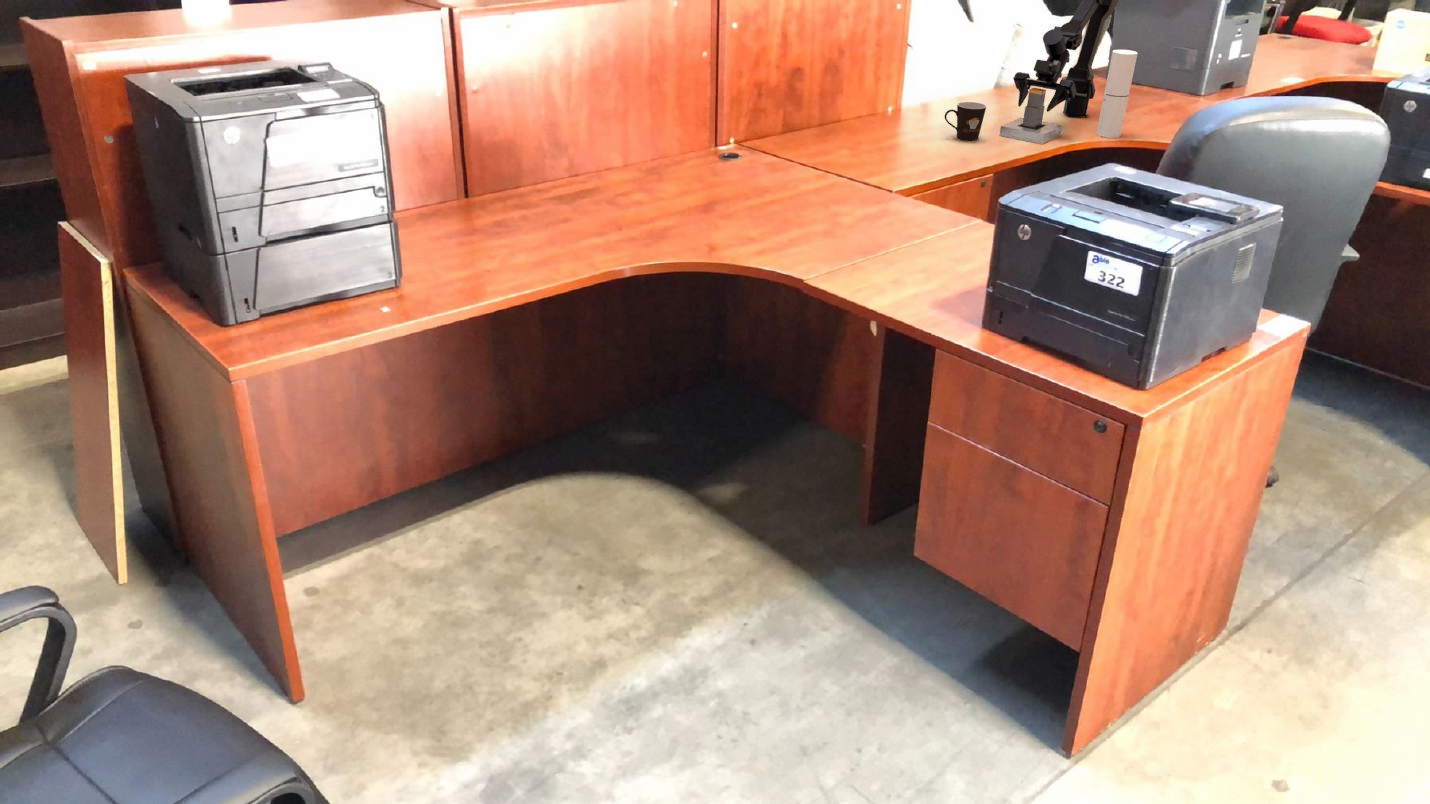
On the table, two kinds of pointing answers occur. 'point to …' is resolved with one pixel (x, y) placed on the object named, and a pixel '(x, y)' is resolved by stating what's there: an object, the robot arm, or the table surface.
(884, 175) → the table surface
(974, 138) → the coffee mug
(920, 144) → the table surface
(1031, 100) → the grey orange-tipped tall block
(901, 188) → the table surface
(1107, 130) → the cylindrical container
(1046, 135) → the silver square socket base
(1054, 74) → the robot arm
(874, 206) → the table surface
